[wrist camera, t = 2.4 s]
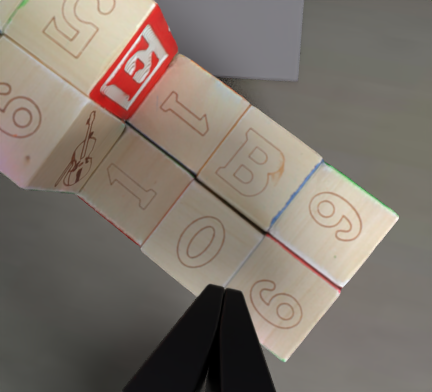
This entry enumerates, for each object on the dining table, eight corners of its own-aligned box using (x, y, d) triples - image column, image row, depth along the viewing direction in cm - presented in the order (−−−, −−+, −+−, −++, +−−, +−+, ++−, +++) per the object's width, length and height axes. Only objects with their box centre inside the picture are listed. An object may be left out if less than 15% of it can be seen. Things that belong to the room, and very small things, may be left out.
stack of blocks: (335, 211, 21) (461, 226, 9) (266, 298, 21) (296, 428, 9) (49, -9, 23) (-183, -260, 10) (-14, 74, 23) (-313, -75, 11)
